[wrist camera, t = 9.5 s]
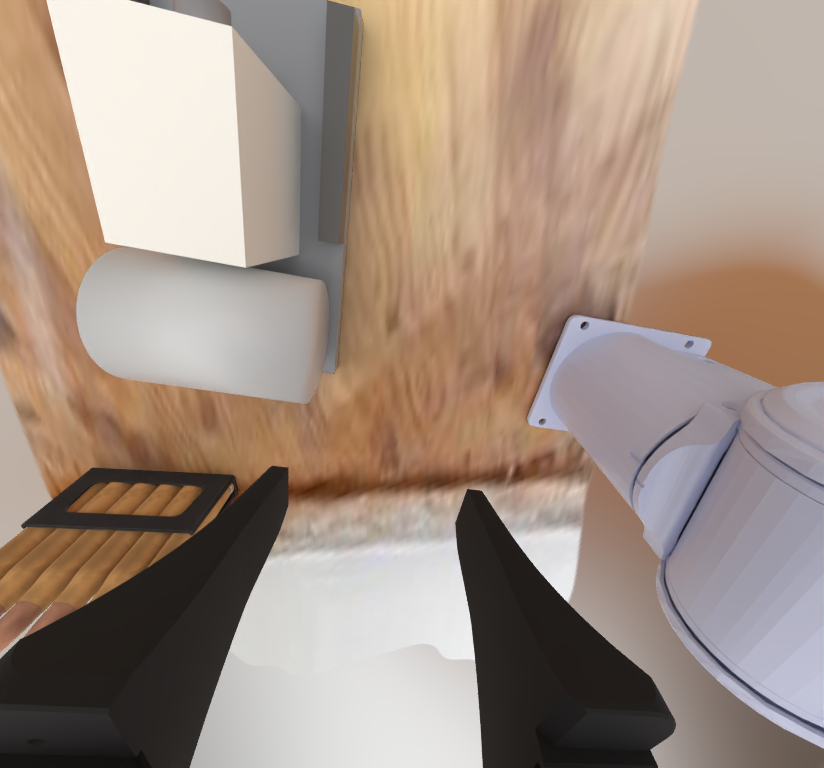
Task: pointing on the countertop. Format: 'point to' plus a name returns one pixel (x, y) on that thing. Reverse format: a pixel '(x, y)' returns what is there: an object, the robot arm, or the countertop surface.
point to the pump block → (182, 130)
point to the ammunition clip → (100, 539)
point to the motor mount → (261, 284)
